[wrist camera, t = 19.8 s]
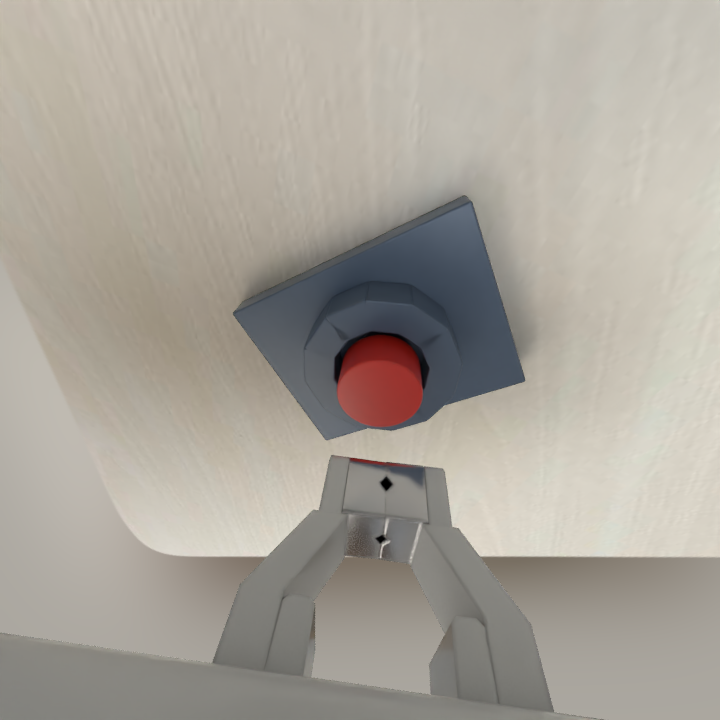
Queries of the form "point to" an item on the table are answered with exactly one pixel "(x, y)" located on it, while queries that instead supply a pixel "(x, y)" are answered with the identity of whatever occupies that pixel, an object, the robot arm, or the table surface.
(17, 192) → the table surface
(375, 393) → the button
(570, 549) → the table surface
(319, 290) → the switch block
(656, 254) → the table surface
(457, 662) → the robot arm
